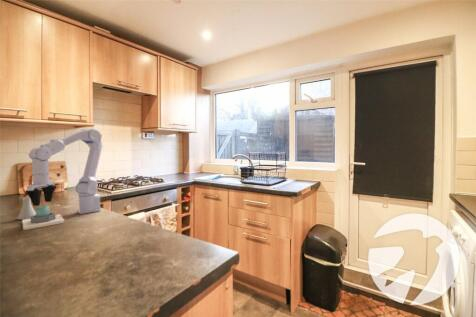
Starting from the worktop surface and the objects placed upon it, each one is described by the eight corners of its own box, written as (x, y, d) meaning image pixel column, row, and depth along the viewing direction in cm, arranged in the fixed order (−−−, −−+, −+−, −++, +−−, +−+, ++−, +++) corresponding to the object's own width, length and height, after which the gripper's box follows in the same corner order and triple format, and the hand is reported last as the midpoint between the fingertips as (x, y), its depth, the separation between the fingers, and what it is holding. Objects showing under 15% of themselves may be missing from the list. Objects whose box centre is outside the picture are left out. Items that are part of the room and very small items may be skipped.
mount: (60, 216, 121) (59, 209, 120) (64, 222, 110) (63, 215, 110) (22, 222, 111) (22, 215, 111) (23, 230, 101) (22, 222, 101)
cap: (52, 218, 113) (51, 205, 113) (44, 221, 108) (44, 208, 108) (41, 218, 113) (40, 205, 113) (33, 221, 108) (32, 208, 108)
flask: (41, 216, 122) (40, 196, 121) (27, 220, 114) (26, 199, 114) (28, 215, 122) (27, 196, 122) (13, 220, 115) (12, 199, 115)
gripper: (38, 175, 103) (40, 207, 104) (60, 172, 117) (61, 199, 118) (21, 176, 102) (22, 207, 103) (45, 172, 117) (46, 200, 117)
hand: (42, 203), depth 110 cm, fingers open, 7 cm apart
